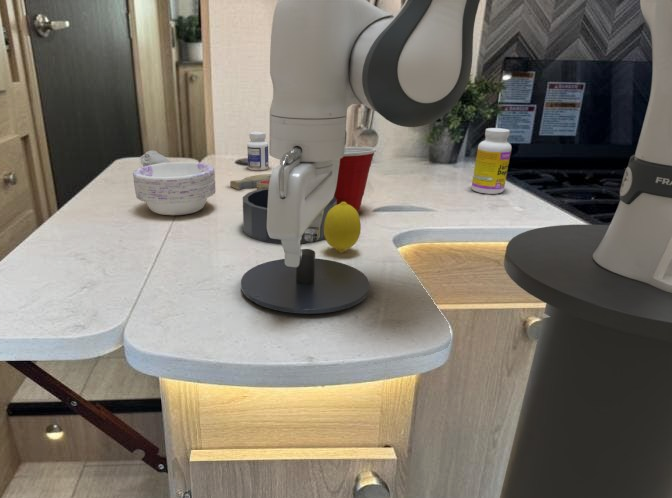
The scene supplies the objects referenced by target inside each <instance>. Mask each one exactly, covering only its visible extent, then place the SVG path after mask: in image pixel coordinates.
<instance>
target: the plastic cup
mask: <svg viewBox="0 0 672 498" xmlns="http://www.w3.org/2000/svg"><path fill="white" fill-rule="evenodd" d="M375 153H377V148H376V147H372V146H345V150H344V156H343V157H342V158H341V159H340V164H339V172H338V179H337V186H336V190H335V194H334V196H335V198H336V199H337V205H338V204H340V203H341V202H346V203H347V204H348V205H351V206H352V207H354V208H355V209H356V211H357V212H358V213H359V212H360V209H361V206H362V203H363V197H364V195H365V192H366V191H365V190H366V186H367V182H368V177H369V173H370V168H371V167H372V161H373V158H374V155H375Z"/></svg>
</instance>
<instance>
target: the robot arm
mask: <svg viewBox="0 0 672 498" xmlns="http://www.w3.org/2000/svg"><path fill="white" fill-rule="evenodd" d="M480 2H481V0H405V1H404V3H403V5H402V6H401V8H400V9H399V10H398V11H397V13H396V14H395V15H394V14H392V13H390V12H387V11H385V10H383V9H381V8H379V7H377V6H376V5H374V4H372V3H371V2H370V1H368V0H277V1H276V4H275V7H274V11H273V17H272V23H271V34H270V51H269V53H270V55H269V75H270V79H271V82H272V89H273V90H272V99H271V103H270V108H269V143H268V155H269V156H270V157H272V158H274V159H277V160H279V165H278V166H275V168H274V169H273V170H272V171H271V173H270V174H271V177H270V182H269V191H268V206H267V232H268V235H269V237H270V238H273V239H279V240H281V242H282V243H281V246H282V249H283V252H284V259H285V265H286V266H289V267H298V266H299V264H300V263H301V261H302V250H301V249H302V247H301V243H300V240H301V239H302V235H303V233H304V232H305V240H306V241H308V243H316V242H318V241H317V240H318V239H319V237H320V226H321V222H322V218H323V213H324V208H325V207H326V206H327V205H328V204H329V202H330V201H331V200H332V199H333V197H334V194H335V190H336V186H337V179H338V172H339V164H340V159H341V158H342V157H343V156H344V150H345V147H346V145H347V135H348V134H347V133H348V132H347V118H348V117H347V116H348V109H349V107H350V106H352V105H362V106H364V107H366V108H368V109H369V110H371V111H374V112H376V113H378V114H379V115H380V116H382V117H383V118H384V119H385V120H386V121H388V122H390V123H391V124H392V125H393V124H394V125H396V126H400V127H404V128H419V127H423V126H427V125H429V124H432V123H434V122H436V121H438V120H440V119H441V118H443V117H445V116H446V115H447V114H448V113H449V112H450V111H451V110H452V109H453V108H454V107H455V106H456V105H457V104H458V102H459V101H460V99H461V98H462V96H463V95H464V92H465V90H466V88H467V86H468V83H469V80H470V76H471V72H472V67H473V66H472V65H473V53H474V51H473V50H474V31H475V30H474V29H475V23H476V18H477V13H478V8H479V5H480ZM639 4H640V5H639V6H640V11H641V14H642V16H643V18H644V20H645V21H646V23H647V25H648V28H649V31H650V37H651V58H652V59H651V60H652V66H651V67H652V71H651V73H652V74H651V75H652V76H651V86H650V94H649V98H648V99H649V100H648V104H647V107H646V111H645V116H644V120H643V123H642V127H641V131H640V135H639V137H638V142H637V145H636V148H635V153H634V154H632V155H631V156H630V158H629V161H628V164H627V167H626V168H625V170H624V174H623V177H622V181H621V185H620V187H619V202H618V205H617V207H616V210H615V212H614V215H613V218H612V219H611V221H610V223H609V225H610V226H609V228H608V230H607V232H606V234H605V236H604V238H603V239H602V241H601V243H600V244H599V246H598V248H597V249H596V250H595V252H594V253H593V259H594V260H595V262H596V263H598V264H599V265H600V266H602V267H604V268H605V269H607V270H609V271H612V272H614V273H616V274H619V275H622V276H625V277H628V278H631V279H634V280H638V281H641V282H644V283H647V284H650V285H652V286H654V287H656V288H659V289H661V290H663V291H666V292H669V293H672V0H639Z"/></svg>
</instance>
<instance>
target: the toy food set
mask: <svg viewBox="0 0 672 498" xmlns="http://www.w3.org/2000/svg"><path fill="white" fill-rule="evenodd" d="M271 174H272V173H266V174H265V173H263V174H255V175H251V176H246V177H244V178H242V179H240V180H230V182H229V185H230V187H231V188H233V189H234V190H235V189H236V190H238V191H240V190H242V189H252V188H256V190H260V189H266V188H269V182H270V177H271Z"/></svg>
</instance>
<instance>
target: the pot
mask: <svg viewBox="0 0 672 498" xmlns="http://www.w3.org/2000/svg"><path fill="white" fill-rule="evenodd" d="M268 191H269V188H266V189H260V190H257V189H256V190H254V191H253V190H252V191H250V192H247V193H246V194H245V195H243V196H242V223H243V224H242V226H243V232H244V233H245V234H246V235H247V236H249V237H250V238H253V239H254V240H258V241H261V242H266V243H273V244H282V242H281V240H279V239H273V238H270V237H269V235H268V232H267V206H268ZM335 205H337V199H336V198H335V196H334V197H333V199H332V200H331V201H330V202H329V204H328V205H327V206H326V207H325V208H324V213H323V218H322V222H321V226H320V237H319V239H318V240H317V241H316V242H319V241H322V240H326V238H325V235H324V222H325V218H326V216H327V213H328V211H329V210H330V209H331V208H332V207H334V206H335ZM307 243H309V242H308V241H306V240H305V232H304V233H303V235H302V239H301V240H300V244H307Z"/></svg>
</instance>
